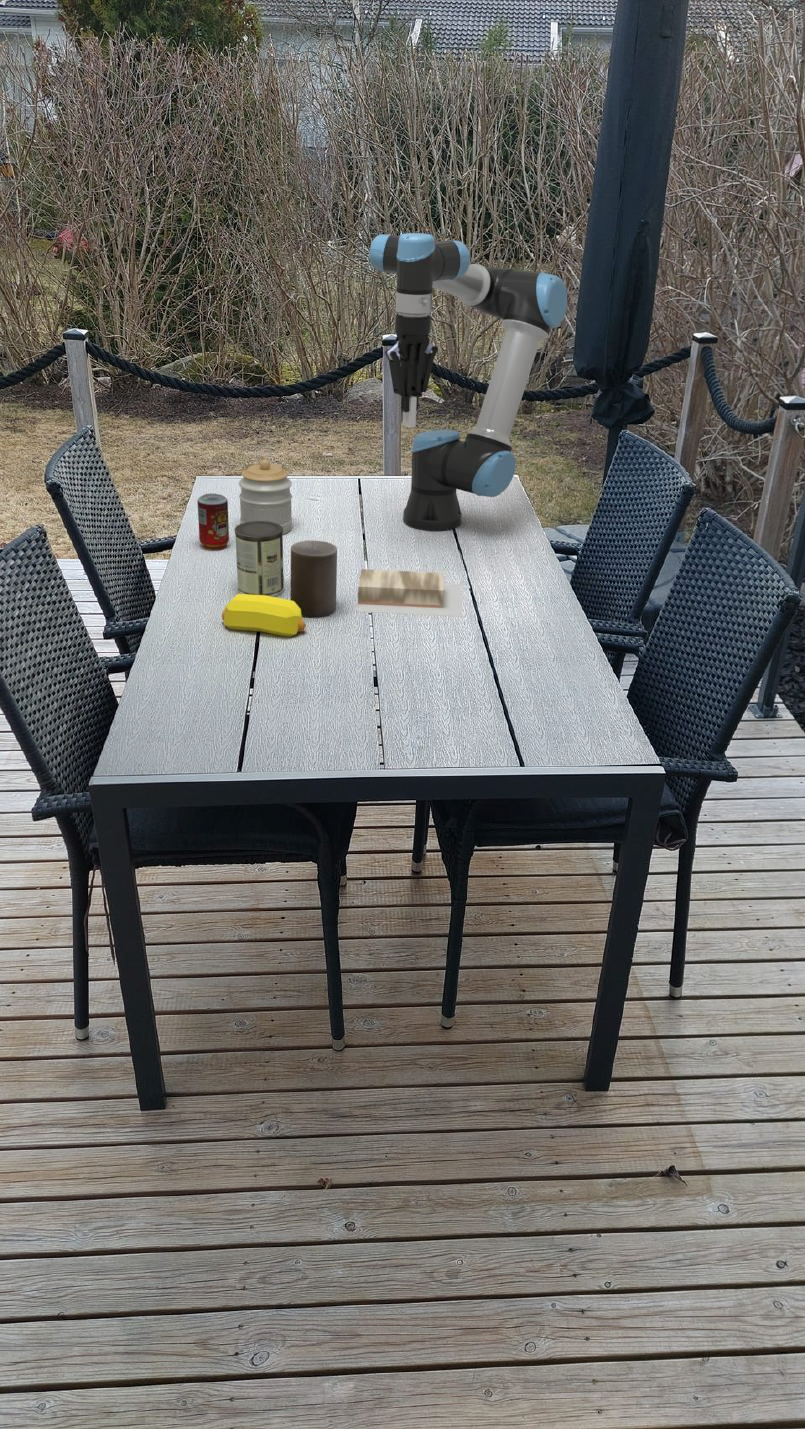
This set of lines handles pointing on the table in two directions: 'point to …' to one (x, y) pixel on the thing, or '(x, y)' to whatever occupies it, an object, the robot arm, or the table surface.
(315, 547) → the pillar candle
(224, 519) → the soda can
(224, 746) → the table surface
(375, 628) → the table surface
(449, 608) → the rubber mat
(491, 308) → the robot arm
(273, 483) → the jar
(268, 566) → the coffee can
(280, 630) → the hot dog
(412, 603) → the birch board
